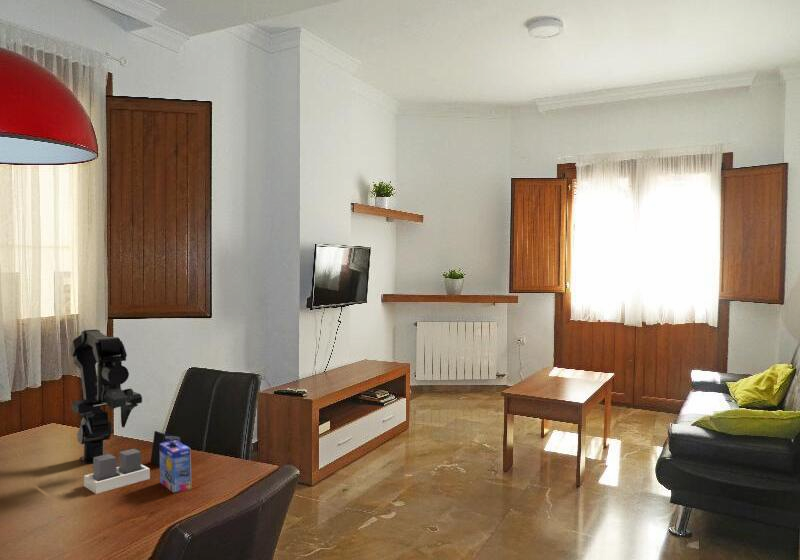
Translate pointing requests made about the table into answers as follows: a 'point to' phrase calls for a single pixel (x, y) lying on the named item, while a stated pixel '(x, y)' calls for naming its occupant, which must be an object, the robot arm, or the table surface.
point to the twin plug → (129, 461)
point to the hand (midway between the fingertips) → (107, 430)
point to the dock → (116, 480)
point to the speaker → (155, 449)
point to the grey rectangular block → (104, 467)
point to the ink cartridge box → (175, 465)
